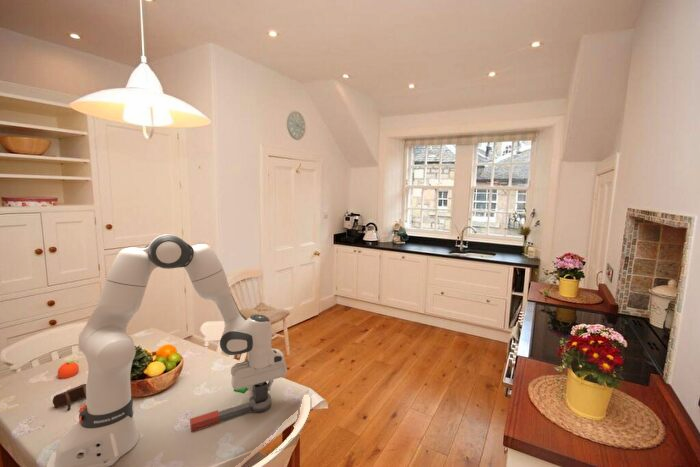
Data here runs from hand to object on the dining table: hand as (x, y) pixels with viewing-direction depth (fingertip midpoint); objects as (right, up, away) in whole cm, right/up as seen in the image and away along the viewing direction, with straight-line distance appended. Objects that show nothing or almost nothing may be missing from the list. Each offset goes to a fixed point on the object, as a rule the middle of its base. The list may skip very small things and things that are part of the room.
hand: (260, 392), depth 123 cm
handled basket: (-65, -5, -4) cm, 65 cm away
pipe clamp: (-6, -1, +15) cm, 16 cm away
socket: (0, -2, 0) cm, 2 cm away
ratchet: (-9, -6, -5) cm, 11 cm away
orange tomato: (-87, -2, +17) cm, 89 cm away
